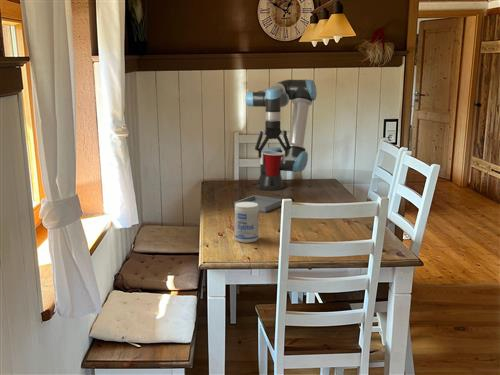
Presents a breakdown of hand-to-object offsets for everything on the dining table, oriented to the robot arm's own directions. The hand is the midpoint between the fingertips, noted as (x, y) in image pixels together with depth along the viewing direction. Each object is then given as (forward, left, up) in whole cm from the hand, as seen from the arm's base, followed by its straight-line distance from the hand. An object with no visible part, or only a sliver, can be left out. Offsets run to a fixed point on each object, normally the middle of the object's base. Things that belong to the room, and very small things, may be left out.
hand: (272, 163), depth 274 cm
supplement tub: (+60, +23, -20) cm, 67 cm away
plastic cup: (0, 0, -6) cm, 6 cm away
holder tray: (+12, -1, -20) cm, 23 cm away
